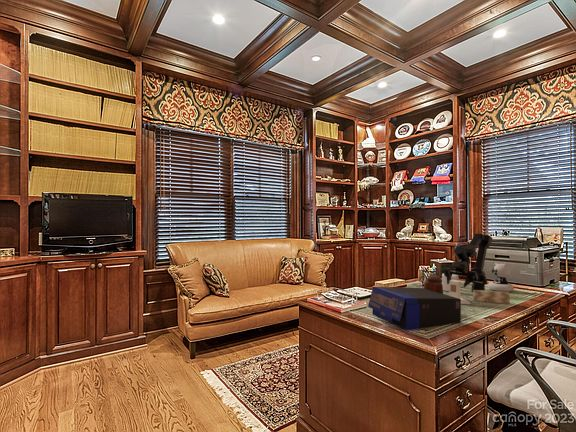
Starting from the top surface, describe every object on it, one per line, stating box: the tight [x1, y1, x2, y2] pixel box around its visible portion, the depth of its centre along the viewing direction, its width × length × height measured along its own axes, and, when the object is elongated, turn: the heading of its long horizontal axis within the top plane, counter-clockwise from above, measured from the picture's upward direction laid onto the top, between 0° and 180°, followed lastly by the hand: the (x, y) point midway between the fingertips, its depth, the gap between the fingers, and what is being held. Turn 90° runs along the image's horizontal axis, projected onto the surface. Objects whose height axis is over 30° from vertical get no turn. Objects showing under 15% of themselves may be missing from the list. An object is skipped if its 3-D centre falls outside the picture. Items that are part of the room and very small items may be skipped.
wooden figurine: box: [423, 274, 444, 294], centre depth 171 cm, size 12×6×18 cm, turn 32°
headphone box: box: [367, 286, 462, 332], centre depth 155 cm, size 25×35×14 cm
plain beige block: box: [448, 280, 461, 299], centre depth 186 cm, size 4×5×11 cm
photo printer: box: [441, 273, 460, 292], centre depth 210 cm, size 10×4×12 cm, turn 39°
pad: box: [460, 296, 472, 305], centre depth 186 cm, size 12×12×1 cm
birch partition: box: [473, 290, 511, 304], centre depth 185 cm, size 18×2×6 cm, turn 71°
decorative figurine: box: [487, 261, 515, 293], centre depth 215 cm, size 15×15×20 cm
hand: (455, 285), depth 186 cm, fingers open, 9 cm apart
